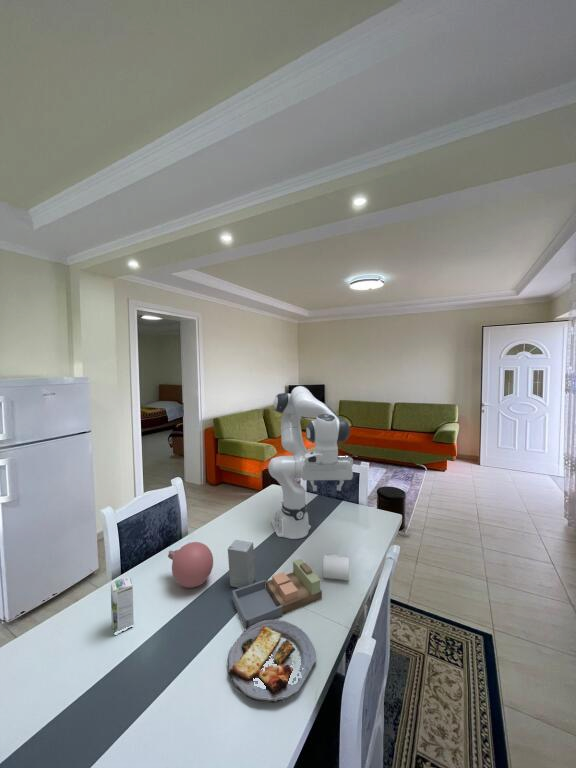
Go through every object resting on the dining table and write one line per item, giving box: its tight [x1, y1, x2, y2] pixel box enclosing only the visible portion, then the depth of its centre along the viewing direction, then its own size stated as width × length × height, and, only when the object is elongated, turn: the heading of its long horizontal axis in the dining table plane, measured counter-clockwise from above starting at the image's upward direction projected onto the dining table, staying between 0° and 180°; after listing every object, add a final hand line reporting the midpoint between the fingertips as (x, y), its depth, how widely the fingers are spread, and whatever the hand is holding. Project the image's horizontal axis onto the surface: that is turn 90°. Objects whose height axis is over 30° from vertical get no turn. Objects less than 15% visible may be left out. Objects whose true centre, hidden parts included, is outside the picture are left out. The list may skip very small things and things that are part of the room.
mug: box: [322, 553, 350, 581], centre depth 128 cm, size 12×10×8 cm
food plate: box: [227, 619, 317, 703], centre depth 91 cm, size 25×23×4 cm
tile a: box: [271, 571, 290, 591], centre depth 118 cm, size 5×5×2 cm
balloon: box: [167, 541, 214, 589], centre depth 124 cm, size 15×20×15 cm
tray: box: [231, 579, 283, 629], centre depth 110 cm, size 15×13×4 cm
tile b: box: [279, 582, 298, 602], centre depth 113 cm, size 5×5×2 cm
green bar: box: [292, 558, 321, 595], centre depth 119 cm, size 14×4×6 cm, turn 27°
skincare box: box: [227, 539, 257, 589], centre depth 122 cm, size 8×7×16 cm
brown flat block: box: [265, 571, 323, 616], centre depth 117 cm, size 14×16×3 cm
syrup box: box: [110, 576, 135, 634], centre depth 103 cm, size 6×6×14 cm
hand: (326, 490), depth 125 cm, fingers open, 8 cm apart
